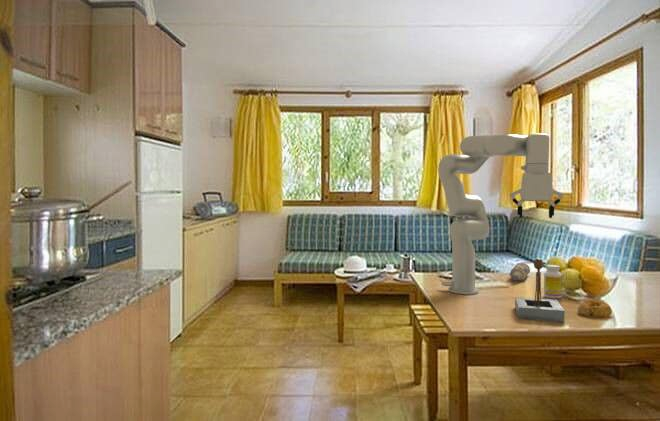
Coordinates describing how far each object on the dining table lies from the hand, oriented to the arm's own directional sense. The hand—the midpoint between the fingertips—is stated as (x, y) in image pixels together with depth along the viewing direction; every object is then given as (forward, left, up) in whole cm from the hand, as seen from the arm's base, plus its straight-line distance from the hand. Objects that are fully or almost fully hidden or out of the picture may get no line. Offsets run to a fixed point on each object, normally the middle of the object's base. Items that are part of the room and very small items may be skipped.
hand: (535, 217), depth 158 cm
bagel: (+20, +4, -35) cm, 40 cm away
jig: (+1, -3, -34) cm, 34 cm away
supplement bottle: (+10, +27, -34) cm, 45 cm away
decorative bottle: (0, +63, -35) cm, 72 cm away
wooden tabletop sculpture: (+1, -3, -34) cm, 34 cm away
